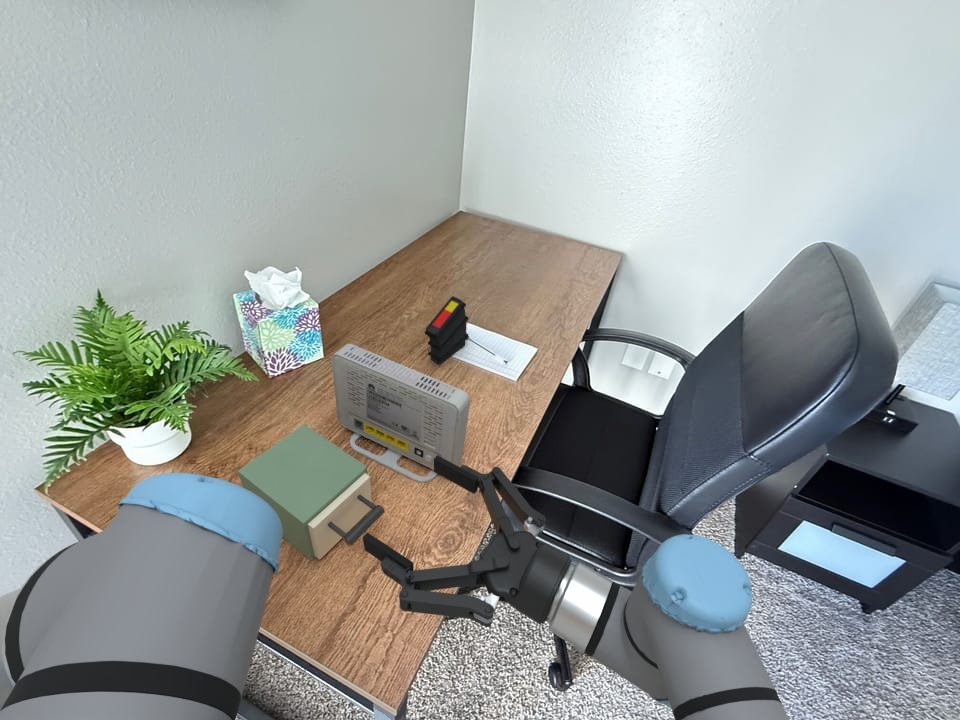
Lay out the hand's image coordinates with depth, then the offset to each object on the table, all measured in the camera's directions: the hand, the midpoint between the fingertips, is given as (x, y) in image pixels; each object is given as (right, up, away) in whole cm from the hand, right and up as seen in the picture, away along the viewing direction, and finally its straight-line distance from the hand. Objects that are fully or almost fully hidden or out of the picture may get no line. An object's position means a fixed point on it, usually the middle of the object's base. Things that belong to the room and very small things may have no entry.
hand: (403, 499), depth 58 cm
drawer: (-15, -9, +19) cm, 26 cm away
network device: (-6, -1, +33) cm, 33 cm away
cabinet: (-19, -8, +21) cm, 30 cm away
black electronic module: (+1, +19, +58) cm, 61 cm away
